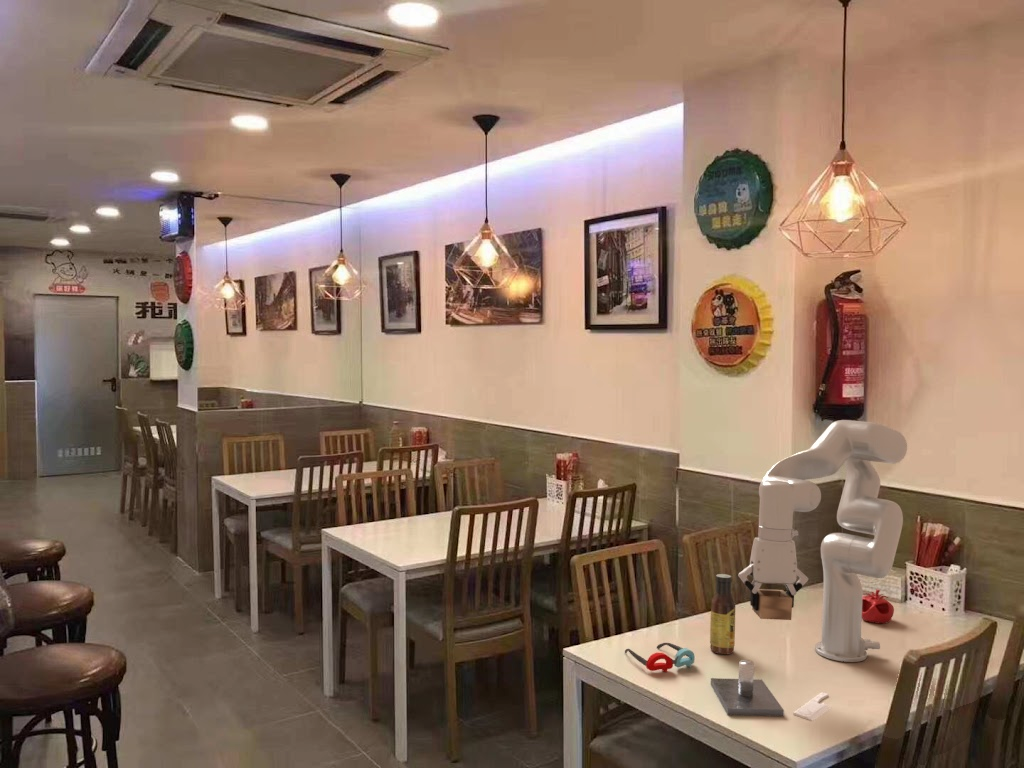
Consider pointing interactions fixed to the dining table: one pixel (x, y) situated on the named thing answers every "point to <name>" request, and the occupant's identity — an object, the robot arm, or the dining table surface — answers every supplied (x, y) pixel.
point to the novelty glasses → (666, 658)
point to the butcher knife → (813, 708)
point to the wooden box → (774, 605)
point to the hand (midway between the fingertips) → (771, 609)
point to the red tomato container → (876, 608)
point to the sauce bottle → (722, 617)
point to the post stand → (746, 694)
